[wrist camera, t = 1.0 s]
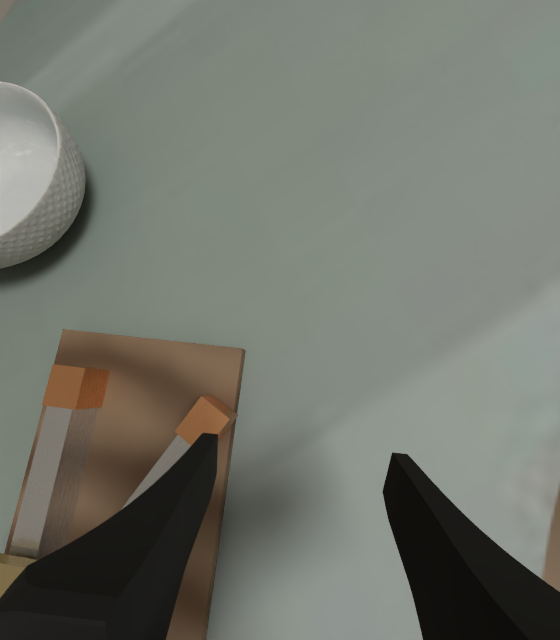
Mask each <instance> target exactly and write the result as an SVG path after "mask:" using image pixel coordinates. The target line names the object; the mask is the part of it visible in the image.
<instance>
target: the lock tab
mask: <svg viewBox="0 0 560 640" xmlns="http://www.w3.org/2000/svg"><path fill="white" fill-rule="evenodd" d="M35 561H37V560H35V559H29V558H24V557H18V556H13V555H7V554H2V553H0V598H1V596H2V595H3V594H4V592H5V591H6V590H7V589H8V587H9V586H10V585H11V584H12V582H13V581H14V580H15V579H16V578H17V577H18V576H19V574H20V573H21V572H22V571H23V570H24V569H25V568H26V567H27V565H29V564H31V563H33V562H35Z"/></svg>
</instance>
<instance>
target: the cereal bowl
mask: <svg viewBox="0 0 560 640" xmlns="http://www.w3.org/2000/svg"><path fill="white" fill-rule="evenodd" d="M85 176H86V175H85V167H84V164H83V159H82V157H81V153H80V151H79V149H78V145H77V144H76V142H75V141H74V138H73V137H72V135H71V134H70V132H69V130H68V129H67V128H66V127H65V125H64V123H63V122H62V121H61V120H60V119H59V118H58V116H57V114H56V113H55V112H54V111H53V110H52V109H51V107H50V106H49V105H48V104H47V103H45V102H44V101H43V100H42V99H41V98H40V97H38V96H37V95H36V94H34V93H33V92H31V91H29V90H27V89H25V88H23V87H20V86H18V85H15V84H11V83H6V82H0V268H5V267H9V266H13V265H15V264H19V263H21V262H24V261H27V260H29V259H31V258H33V257H35V256H37V255H38V254H40V253H42V252H43V251H45V250H46V249H48V248H49V247H51V246H52V245H53V244H54V243H55V242H56V241H58V240H59V239H60V238H61V237H62V235H64V233H65V232H66V231H67V230H68V228H69V227H70V226H71V224H72V223H73V222H74V219H75V218H76V216H77V214H78V212H79V209H80V207H81V204H82V200H83V198H84V192H85V183H86V181H85Z"/></svg>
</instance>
